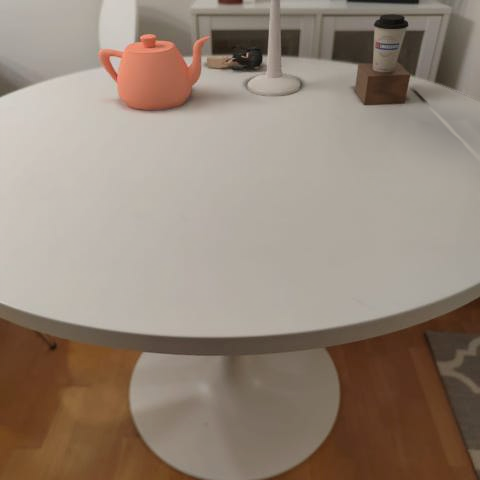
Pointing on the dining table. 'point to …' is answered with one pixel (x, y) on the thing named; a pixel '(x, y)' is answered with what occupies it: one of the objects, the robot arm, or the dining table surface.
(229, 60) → the toy figure
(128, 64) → the teapot
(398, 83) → the walnut block
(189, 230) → the dining table surface
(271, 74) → the candlestick
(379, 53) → the coffee cup
